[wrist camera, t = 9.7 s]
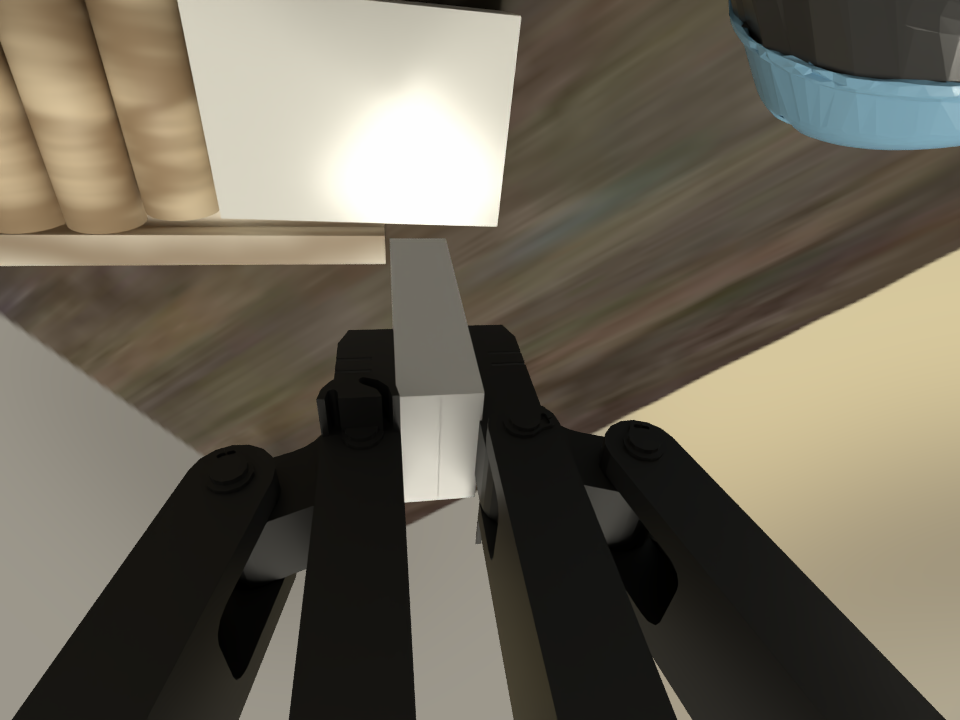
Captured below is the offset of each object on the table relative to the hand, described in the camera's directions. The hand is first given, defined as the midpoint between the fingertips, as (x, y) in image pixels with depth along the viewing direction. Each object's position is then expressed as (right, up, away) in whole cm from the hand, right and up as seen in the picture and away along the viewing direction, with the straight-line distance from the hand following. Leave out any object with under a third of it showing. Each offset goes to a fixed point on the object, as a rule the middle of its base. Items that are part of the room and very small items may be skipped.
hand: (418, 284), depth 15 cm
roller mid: (-19, +10, +11) cm, 24 cm away
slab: (-5, +13, +16) cm, 22 cm away
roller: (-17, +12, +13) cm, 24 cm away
